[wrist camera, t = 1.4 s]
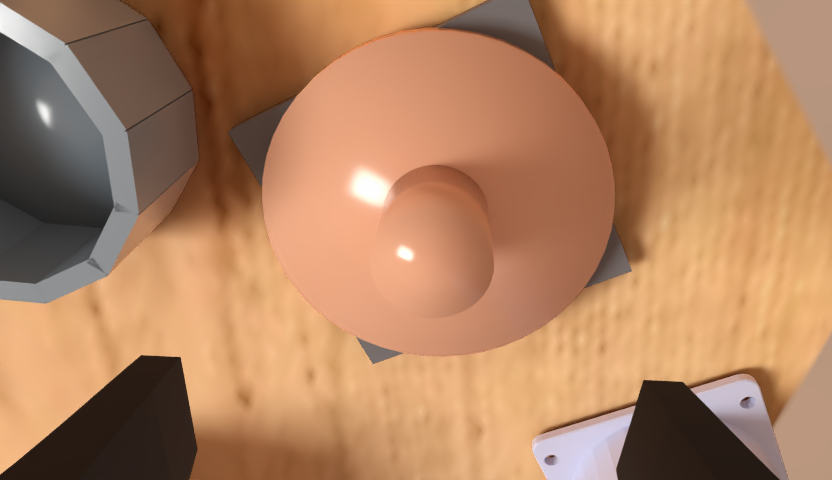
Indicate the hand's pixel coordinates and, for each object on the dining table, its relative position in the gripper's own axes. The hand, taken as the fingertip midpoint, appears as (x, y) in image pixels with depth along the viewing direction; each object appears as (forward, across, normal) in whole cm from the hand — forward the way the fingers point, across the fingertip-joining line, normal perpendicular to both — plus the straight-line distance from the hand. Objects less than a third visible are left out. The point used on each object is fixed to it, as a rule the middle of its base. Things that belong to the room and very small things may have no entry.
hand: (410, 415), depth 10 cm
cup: (+10, +11, -1) cm, 15 cm away
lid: (+9, -1, +1) cm, 9 cm away
